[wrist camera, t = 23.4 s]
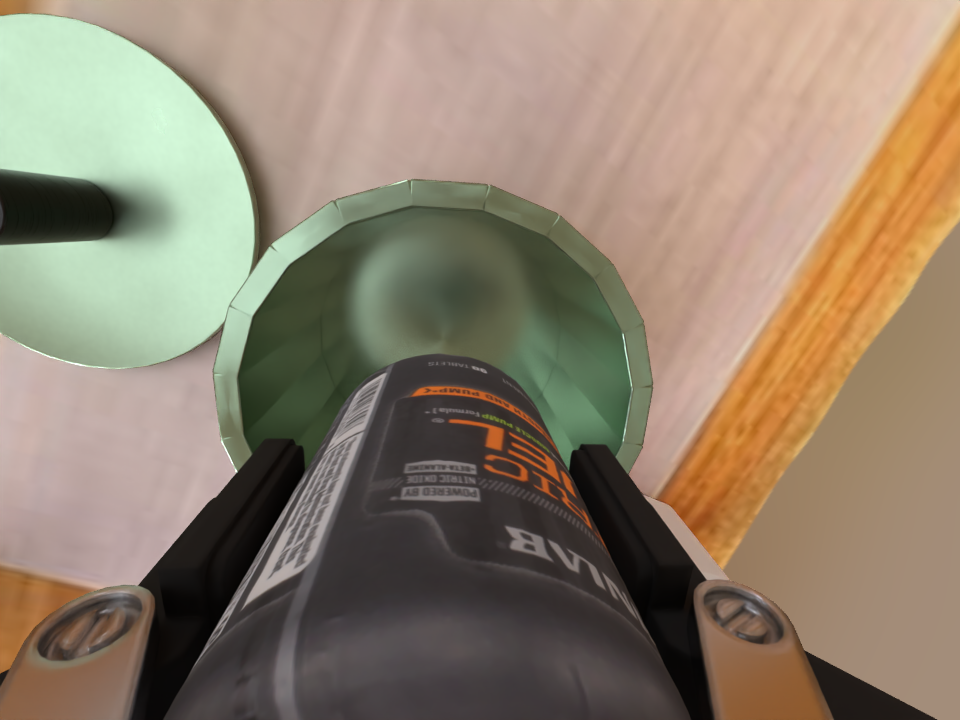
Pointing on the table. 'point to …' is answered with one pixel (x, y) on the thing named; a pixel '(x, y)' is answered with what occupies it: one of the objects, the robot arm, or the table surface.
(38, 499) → the table surface
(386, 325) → the tin
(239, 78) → the table surface
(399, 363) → the pill bottle
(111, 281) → the lid
